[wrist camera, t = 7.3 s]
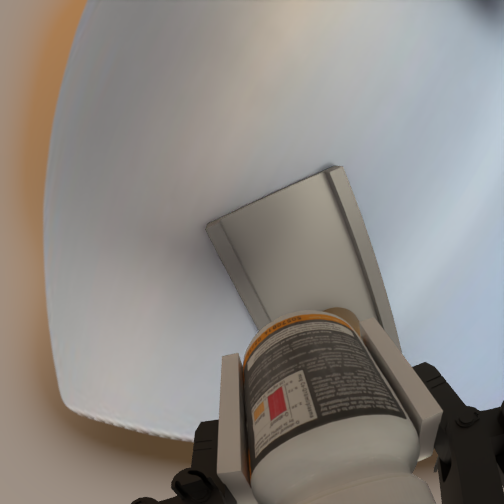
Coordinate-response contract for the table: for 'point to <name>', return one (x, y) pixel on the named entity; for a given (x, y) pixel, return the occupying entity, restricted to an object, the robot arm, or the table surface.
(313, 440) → the pill bottle
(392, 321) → the lane
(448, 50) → the table surface
